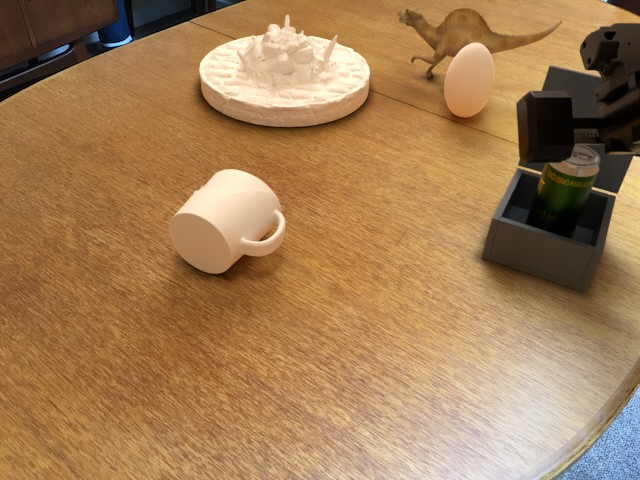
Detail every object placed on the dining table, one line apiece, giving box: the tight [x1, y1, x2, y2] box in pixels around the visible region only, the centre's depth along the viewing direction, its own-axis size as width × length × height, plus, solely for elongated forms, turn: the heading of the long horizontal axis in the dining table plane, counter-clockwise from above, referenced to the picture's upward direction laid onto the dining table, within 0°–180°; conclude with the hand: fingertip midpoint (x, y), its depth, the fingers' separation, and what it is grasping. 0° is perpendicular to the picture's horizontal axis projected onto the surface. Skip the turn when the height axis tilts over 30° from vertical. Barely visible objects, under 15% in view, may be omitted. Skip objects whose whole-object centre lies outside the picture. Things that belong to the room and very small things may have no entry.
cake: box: [198, 14, 371, 128], centre depth 97 cm, size 28×28×10 cm
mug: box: [168, 168, 287, 275], centre depth 66 cm, size 12×9×8 cm
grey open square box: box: [480, 167, 617, 293], centre depth 69 cm, size 12×12×6 cm
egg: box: [443, 43, 496, 119], centre depth 91 cm, size 7×7×12 cm
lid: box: [517, 64, 634, 195], centre depth 68 cm, size 12×12×1 cm
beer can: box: [525, 145, 600, 239], centre depth 67 cm, size 5×5×12 cm
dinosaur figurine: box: [397, 6, 563, 79], centre depth 99 cm, size 8×26×13 cm, turn 74°
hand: (574, 147), depth 63 cm, fingers open, 9 cm apart
